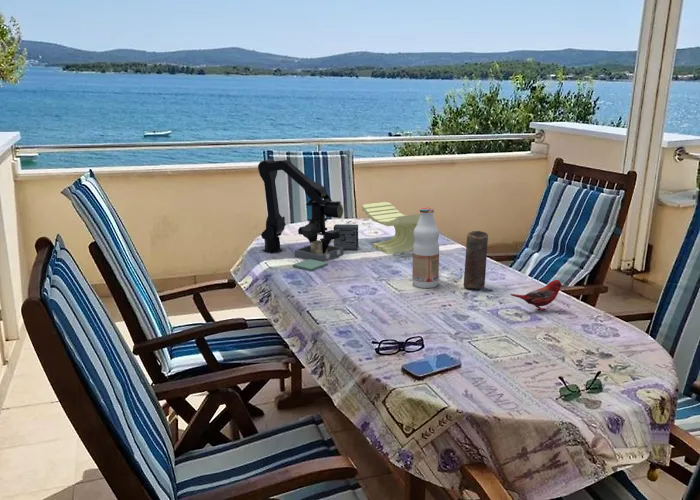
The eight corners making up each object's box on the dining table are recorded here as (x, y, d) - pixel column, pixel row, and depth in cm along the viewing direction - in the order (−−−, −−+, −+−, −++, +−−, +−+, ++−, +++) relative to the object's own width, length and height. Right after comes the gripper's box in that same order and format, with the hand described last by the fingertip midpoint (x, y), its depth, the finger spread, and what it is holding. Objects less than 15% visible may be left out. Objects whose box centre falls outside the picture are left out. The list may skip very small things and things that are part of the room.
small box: (358, 246, 272) (358, 223, 269) (357, 250, 265) (357, 227, 263) (335, 246, 273) (335, 223, 270) (333, 250, 266) (333, 227, 264)
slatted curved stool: (429, 253, 259) (430, 212, 255) (397, 258, 252) (398, 216, 248) (392, 238, 285) (392, 201, 280) (362, 242, 278) (362, 204, 273)
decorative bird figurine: (563, 310, 193) (566, 280, 191) (511, 314, 191) (512, 284, 188) (559, 307, 196) (561, 278, 194) (507, 311, 193) (509, 281, 191)
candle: (487, 286, 217) (490, 231, 212) (482, 292, 211) (485, 236, 206) (466, 283, 221) (468, 229, 215) (461, 289, 214) (463, 234, 209)
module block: (310, 256, 258) (310, 242, 256) (318, 253, 262) (318, 240, 260) (319, 258, 255) (319, 244, 253) (327, 255, 259) (327, 241, 257)
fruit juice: (414, 288, 215) (415, 211, 208) (410, 280, 224) (411, 206, 217) (440, 288, 216) (442, 211, 208) (435, 280, 225) (437, 205, 217)
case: (294, 256, 257) (294, 250, 256) (317, 249, 268) (317, 242, 267) (322, 262, 248) (322, 255, 247) (344, 254, 259) (344, 248, 258)
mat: (292, 266, 243) (292, 264, 243) (309, 261, 250) (309, 258, 250) (311, 271, 237) (311, 268, 237) (327, 265, 245) (327, 262, 244)
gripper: (288, 216, 253) (290, 253, 257) (322, 222, 242) (323, 260, 246) (306, 212, 261) (307, 247, 266) (340, 217, 250) (340, 254, 254)
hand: (319, 252), depth 258 cm, fingers closed on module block, 5 cm apart
